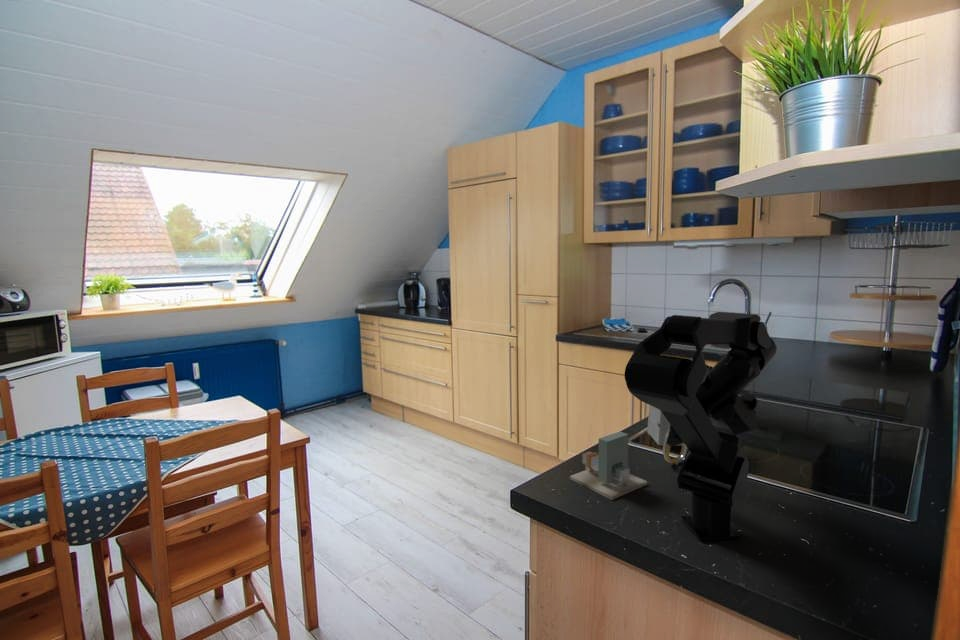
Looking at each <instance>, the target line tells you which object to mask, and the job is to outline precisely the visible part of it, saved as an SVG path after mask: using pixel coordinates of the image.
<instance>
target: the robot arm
mask: <svg viewBox="0 0 960 640" xmlns="http://www.w3.org/2000/svg"><path fill="white" fill-rule="evenodd" d="M662 322H663V323H661V326H660V327H659V328H658V329H657V330H655V331H654V332H653V333H651V334H650V335H649V336H647V337H645V338H644V339H643V340H641V341H640V342H639V343H638V344H637V346H636V347H635V349H634V351H633V353H632V355H631V356H630V358H629V360H628V362H627V364H626V366H625V367H624V380H625V385H626V387H627V389H628V391H629V393H630V394H631V395H633V396H634V397H635V398H637V399H638V400H639V401H641V402H642V403H645V404H647V405H648V406H649V405H651V406H653V407H655V408H657V409H659V410H660V411H661V412H662V413H663V415H664V416H665V417H666V419H667V420H668V422H669V423H670V424H671V425H670V430H669V435H668V439H667V442H666V443H667V444H668V445H669V446H671V448H672V447H675V445H678V444H681V443H684V444H685V445H686V447H687V448H688V449H687V452H686V455H685V456H684V458H683V462H682V465H681V467H680V470H679V472H678V475H677V478H676V480H677V481H676V482H677V487H678V489H680V490H685V491H687V492H690V503H689V505H690V506H689V515H682V516H680V520H681V522H682V523H683V524H684V525H685V526H686V527H687V528H688V529H689V531H690V532H691V533H692V534H693V535H694V536H695V537H696V538H697V539H698V540H699V541H702V542H705V541H706V542H707V541H716V540H717V541H719V540H720V541H721V540H733V539H734V540H735V539H739V538H740V536H741V535H740V533H739V532H738V531H737V530H736V529H734V527H732V525H731V523H732V508H733V507H734V506H735V505H736V504H738V502H740V501H741V500H742V499H743V498H744V496H745V492H746V487H747V482H748V474H749V471H750V470H749V469H750V463H749V459H748V458H747V455H746V453H745V451H744V449H745V446H744V445H742V443H741V440H740V438H739V437H738V436H742V435H745V434H748V433H751V432H754V431H755V429H756V424H757V420H758V417H757V410H755V409H756V408H757V406H758V402H759V400H758V398H756V396H755V395H754V394H740V393H741V392H743V390H745V388H746V387H748V386H749V385H750V384H751V383H752V382H753V381H754V380H755V379H757V378H758V377H759V376H760V374H761V371H763V369H764V368H765V367H766V366H767V365H768V364H769V362H771V360H773V358H774V356H775V355H776V353H777V350H778V349H777V345H776V343H775V341H774V340H773V339H772V337H770V334H769V332H768V330H767V327H766V324H765V323H764V322H763V321H761V316H760V315H759V314H758V313H757V314H755V313H742V312H728V311H727V312H726V311H716V312H714V313H711V314H710V315H709V316H708V317H701V316H693V315H692V316H691V315H679V314H673V315H670V316H669V315H668V316H666V317H665V318H664V321H662ZM672 345H680V346H685V347H686V346H687V347H694V348H695V350H696V351H695V353H694V355H693V358H692V359H690V358H687V357H679V356H671V355H664V354H663V353H664V352H666V351H667V350H669V349H670V348H671V346H672ZM705 345H706V346H707V345H711V346H714V347H720V348H729V350H728V351H727V353H725V355H723V356H722V358H721V359H719V361H717V363H715V365H714V366H712V365H708V364H706V360H705V356H704V352H703V350H704V348H705ZM739 394H740V395H739ZM710 415H711V417H712V418H713V419H714V420H716V421H717V422H718V421H720V420H722V421H723V422H724V423H725V424H726V426H727V427H728V429H730V431H731V433H732V434H730V433H727V432H722V431H718V430H717V429H716V427H715V426H714V425H715V424H713V422H712V421H711V419H710ZM697 476H699V477H702V478H699V477H697ZM704 478H706V479H708V480H706V479H704ZM711 480H712V481H715V482H712V481H711ZM716 482H718V483H716ZM720 483H722V484H720ZM723 484H725V485H723ZM726 485H728V486H726ZM729 486H730V487H729Z"/></svg>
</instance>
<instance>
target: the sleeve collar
mask: <svg viewBox="0 0 960 640" xmlns="http://www.w3.org/2000/svg"><path fill="white" fill-rule="evenodd" d="M617 463H618V464H621V465H623V466H626V467H628V468H629V433H625V432H623V431H617V432H613V433H611V434H608V435H605V436H602V437H599V438H598V481H600V482H602V483H605V484H609V483H611V482H612V465H615V464H617Z"/></svg>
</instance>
